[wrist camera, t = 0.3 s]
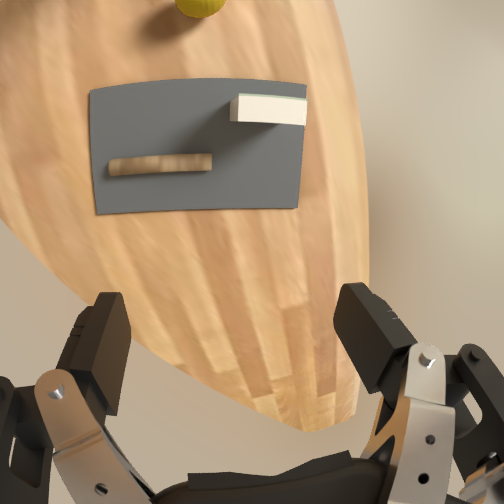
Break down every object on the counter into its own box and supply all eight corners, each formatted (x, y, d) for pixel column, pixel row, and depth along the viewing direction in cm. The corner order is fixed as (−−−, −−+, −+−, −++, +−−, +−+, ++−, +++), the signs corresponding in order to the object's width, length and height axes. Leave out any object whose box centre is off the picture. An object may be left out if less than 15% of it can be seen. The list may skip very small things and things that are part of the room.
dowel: (113, 158, 29) (108, 160, 28) (211, 152, 31) (211, 154, 29) (114, 174, 30) (109, 177, 29) (211, 168, 32) (211, 171, 30)
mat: (91, 90, 25) (90, 90, 25) (305, 85, 29) (306, 84, 29) (98, 212, 33) (97, 214, 32) (296, 206, 37) (297, 208, 36)
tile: (230, 100, 29) (239, 93, 21) (281, 103, 30) (307, 99, 22) (229, 121, 30) (237, 121, 22) (280, 123, 31) (305, 125, 23)
